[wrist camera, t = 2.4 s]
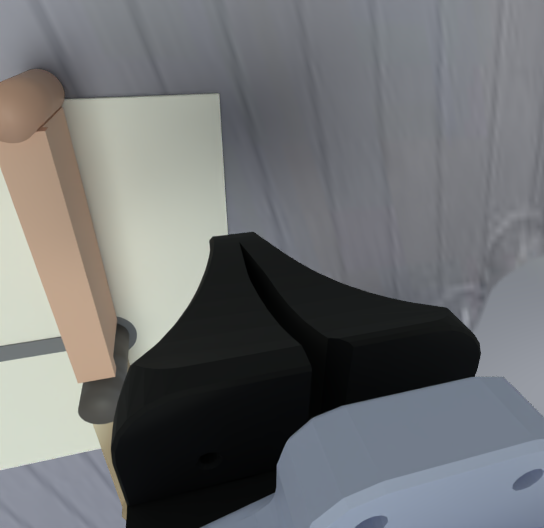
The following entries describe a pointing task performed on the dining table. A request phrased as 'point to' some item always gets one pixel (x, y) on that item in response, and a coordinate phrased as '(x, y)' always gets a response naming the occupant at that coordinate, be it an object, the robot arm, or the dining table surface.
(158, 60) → the dining table surface
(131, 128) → the card
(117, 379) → the hammer
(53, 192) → the tan wooden bar
